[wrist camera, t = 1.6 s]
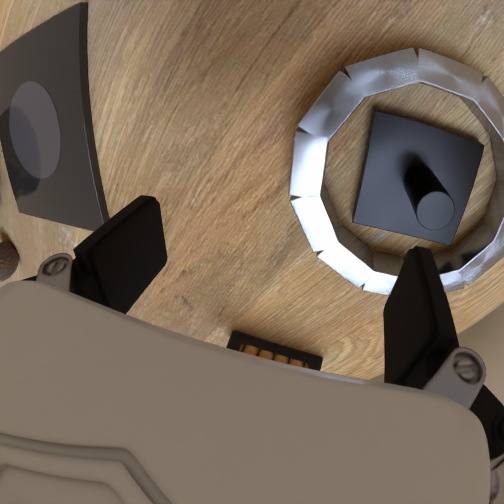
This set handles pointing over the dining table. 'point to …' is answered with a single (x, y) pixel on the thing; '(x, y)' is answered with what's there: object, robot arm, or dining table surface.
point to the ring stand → (415, 177)
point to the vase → (7, 260)
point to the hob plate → (51, 123)
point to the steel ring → (333, 117)
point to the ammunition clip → (272, 351)
